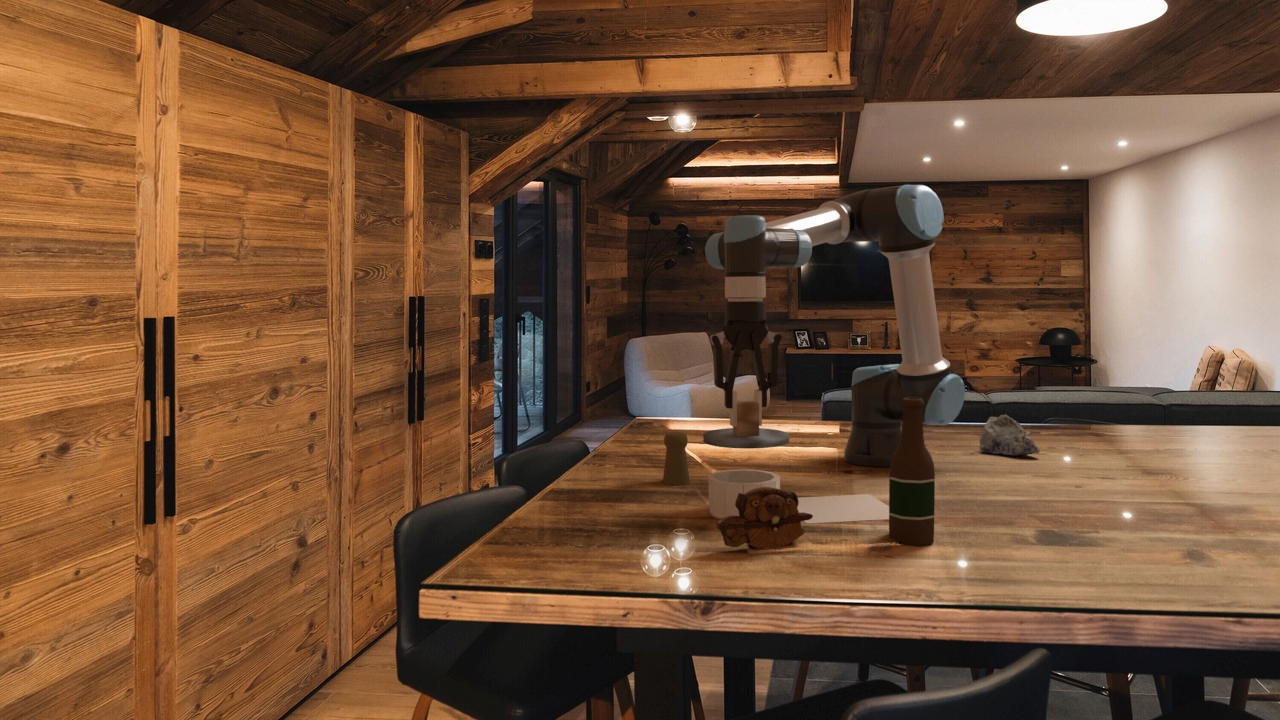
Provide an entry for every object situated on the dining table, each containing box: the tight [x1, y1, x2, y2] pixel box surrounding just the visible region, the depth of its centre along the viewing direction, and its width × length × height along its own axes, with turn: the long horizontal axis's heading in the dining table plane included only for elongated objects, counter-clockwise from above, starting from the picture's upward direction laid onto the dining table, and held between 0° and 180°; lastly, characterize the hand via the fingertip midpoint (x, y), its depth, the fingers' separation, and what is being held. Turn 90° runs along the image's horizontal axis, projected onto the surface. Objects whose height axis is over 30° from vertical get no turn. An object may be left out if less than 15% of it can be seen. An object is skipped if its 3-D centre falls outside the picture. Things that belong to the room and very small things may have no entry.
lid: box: [702, 400, 790, 450], centre depth 173 cm, size 16×16×7 cm
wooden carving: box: [716, 487, 813, 549], centre depth 151 cm, size 16×5×10 cm, turn 110°
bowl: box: [707, 468, 781, 521], centre depth 174 cm, size 13×13×7 cm
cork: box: [662, 431, 691, 486], centre depth 201 cm, size 6×6×11 cm
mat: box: [797, 493, 889, 525], centre depth 175 cm, size 19×19×1 cm
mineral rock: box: [979, 414, 1041, 457], centre depth 225 cm, size 13×11×10 cm
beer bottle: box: [888, 397, 936, 547], centre depth 154 cm, size 8×8×24 cm
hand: (745, 424), depth 173 cm, fingers closed on lid, 4 cm apart
